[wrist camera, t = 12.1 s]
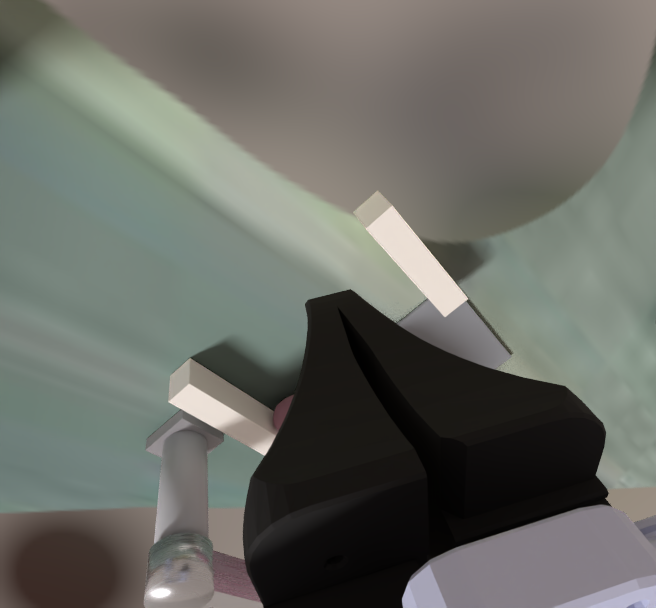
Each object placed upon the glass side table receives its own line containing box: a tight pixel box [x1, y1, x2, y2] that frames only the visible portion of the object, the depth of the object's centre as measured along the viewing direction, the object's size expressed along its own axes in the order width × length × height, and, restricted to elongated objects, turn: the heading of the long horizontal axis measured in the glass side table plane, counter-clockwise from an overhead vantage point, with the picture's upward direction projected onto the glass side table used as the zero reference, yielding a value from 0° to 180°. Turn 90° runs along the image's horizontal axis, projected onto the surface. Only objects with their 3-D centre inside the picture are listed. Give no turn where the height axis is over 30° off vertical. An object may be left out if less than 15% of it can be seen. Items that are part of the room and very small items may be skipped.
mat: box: [397, 299, 511, 369], centre depth 28 cm, size 8×12×1 cm, turn 130°
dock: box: [145, 191, 468, 544], centre depth 22 cm, size 7×19×7 cm, turn 130°
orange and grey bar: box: [144, 533, 263, 608], centre depth 23 cm, size 13×3×2 cm, turn 43°
